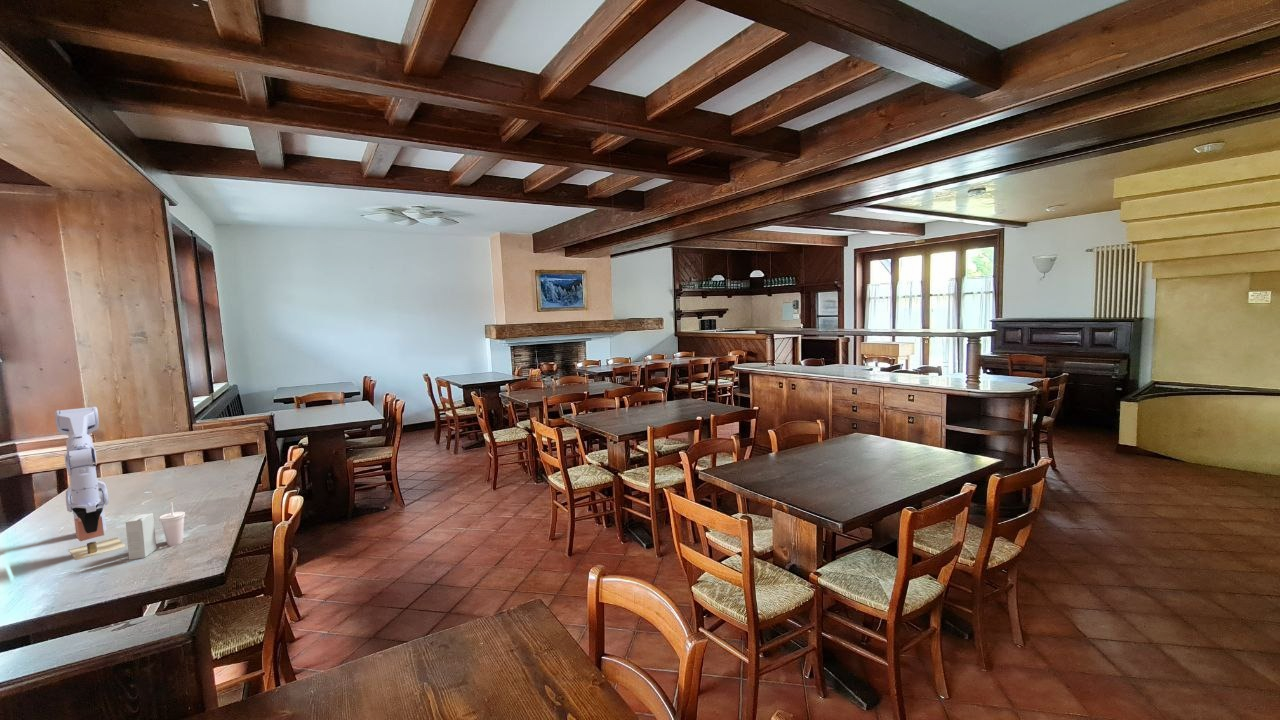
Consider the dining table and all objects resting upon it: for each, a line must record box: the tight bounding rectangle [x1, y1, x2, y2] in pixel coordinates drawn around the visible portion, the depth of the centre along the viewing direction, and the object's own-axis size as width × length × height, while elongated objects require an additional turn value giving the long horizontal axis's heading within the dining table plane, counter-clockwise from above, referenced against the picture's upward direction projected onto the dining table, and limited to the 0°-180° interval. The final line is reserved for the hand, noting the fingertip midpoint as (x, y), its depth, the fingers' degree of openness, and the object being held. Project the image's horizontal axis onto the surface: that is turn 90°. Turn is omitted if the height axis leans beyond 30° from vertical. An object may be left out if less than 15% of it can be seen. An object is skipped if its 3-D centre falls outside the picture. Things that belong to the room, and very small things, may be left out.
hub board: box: [68, 537, 127, 561], centre depth 166 cm, size 13×11×4 cm
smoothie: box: [158, 501, 186, 547], centre depth 169 cm, size 6×6×14 cm
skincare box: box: [125, 512, 158, 560], centre depth 161 cm, size 6×4×12 cm
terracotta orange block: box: [73, 516, 105, 542], centre depth 162 cm, size 5×5×6 cm
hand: (89, 530), depth 162 cm, fingers closed on terracotta orange block, 5 cm apart
